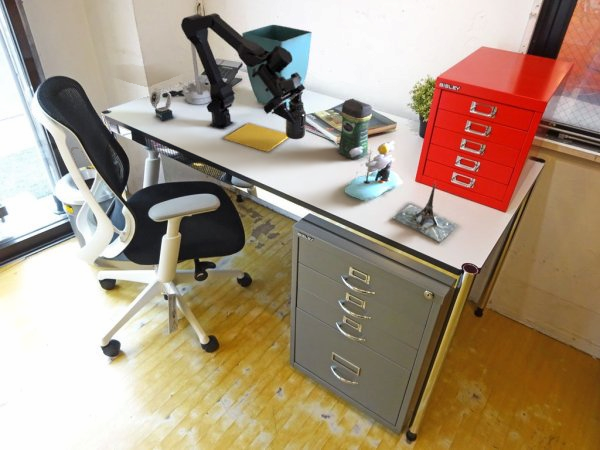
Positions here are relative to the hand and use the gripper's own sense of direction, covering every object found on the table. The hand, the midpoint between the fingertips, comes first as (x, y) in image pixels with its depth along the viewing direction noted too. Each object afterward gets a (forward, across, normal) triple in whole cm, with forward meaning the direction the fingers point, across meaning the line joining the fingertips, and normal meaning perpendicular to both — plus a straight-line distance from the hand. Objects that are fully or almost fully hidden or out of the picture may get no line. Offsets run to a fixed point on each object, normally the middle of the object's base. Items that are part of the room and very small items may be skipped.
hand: (299, 118), depth 150 cm
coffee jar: (+20, +5, -6) cm, 22 cm away
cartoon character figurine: (+31, -12, -17) cm, 37 cm away
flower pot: (-12, +30, +27) cm, 42 cm away
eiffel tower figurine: (+44, -21, -31) cm, 58 cm away
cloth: (-4, -2, +19) cm, 19 cm away
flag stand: (-33, +14, +49) cm, 61 cm away
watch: (-33, -8, +48) cm, 59 cm away
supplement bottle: (+4, 0, +6) cm, 7 cm away
